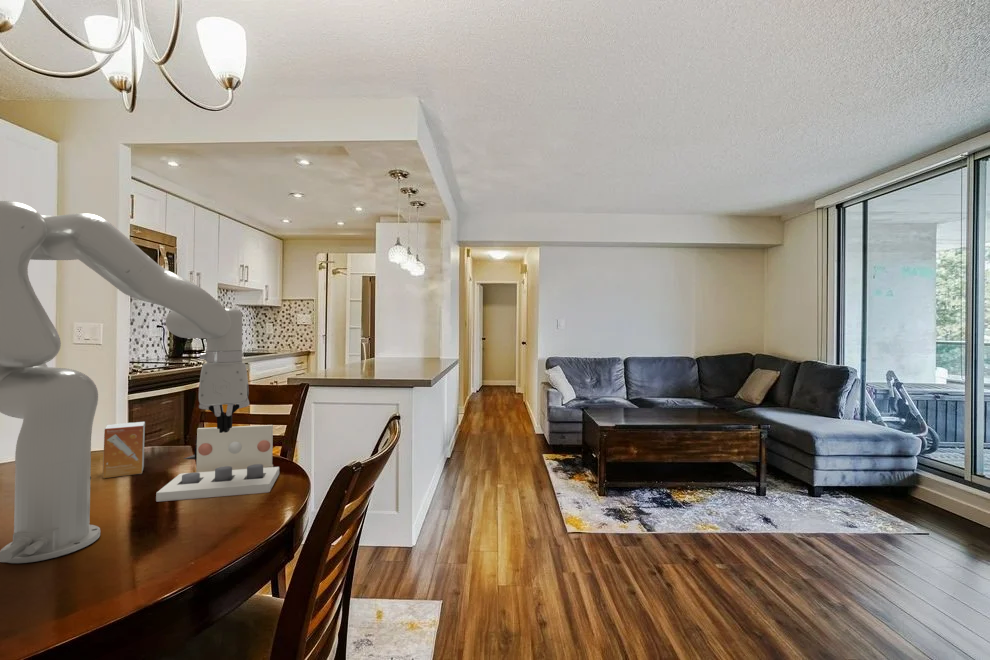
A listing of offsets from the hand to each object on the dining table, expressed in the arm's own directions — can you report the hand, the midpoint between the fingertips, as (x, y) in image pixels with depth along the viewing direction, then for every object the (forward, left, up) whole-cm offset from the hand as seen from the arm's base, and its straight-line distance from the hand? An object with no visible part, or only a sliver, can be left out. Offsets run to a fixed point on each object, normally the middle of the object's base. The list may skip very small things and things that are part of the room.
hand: (224, 431), depth 110 cm
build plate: (+30, +13, -14) cm, 35 cm away
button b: (0, 0, -12) cm, 12 cm away
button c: (0, -7, -12) cm, 14 cm away
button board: (0, 0, -14) cm, 14 cm away
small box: (+18, +28, -14) cm, 36 cm away
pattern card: (+11, 0, -14) cm, 17 cm away
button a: (0, +7, -13) cm, 15 cm away
